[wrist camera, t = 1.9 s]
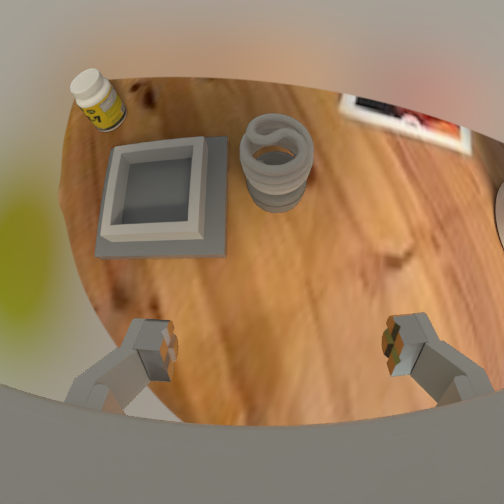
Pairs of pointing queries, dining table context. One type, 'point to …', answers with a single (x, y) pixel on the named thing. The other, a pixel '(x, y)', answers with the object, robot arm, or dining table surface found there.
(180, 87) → the dining table surface
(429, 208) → the dining table surface
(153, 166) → the bulb socket
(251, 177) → the light bulb
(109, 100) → the supplement bottle
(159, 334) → the robot arm
